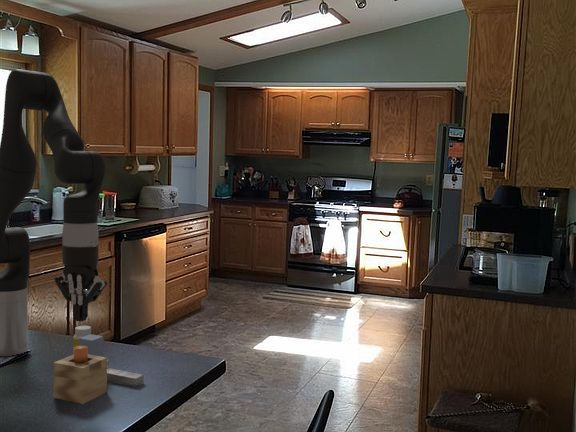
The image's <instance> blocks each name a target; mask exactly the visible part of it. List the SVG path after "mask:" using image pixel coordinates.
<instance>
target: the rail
mask: <svg viewBox="0 0 576 432" xmlns="http://www.w3.org/2000/svg"><path fill="white" fill-rule="evenodd" d="M144 377H145V376H144V374H142V373H138V372H137V373H135V372H131V371H127V370H126V371H125V370H121V369H120V370H119V369H114V368H110V367H109V368H107V383H114V384H118V385H123V386H130V387H135V388H137V387H139V386H140V385H143V384H144V382H145V381H144Z"/></svg>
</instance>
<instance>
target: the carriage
mask: <svg viewBox="0 0 576 432" xmlns="http://www.w3.org/2000/svg"><path fill="white" fill-rule="evenodd" d="M79 346H87V347H88V354H90V355H95V356H101V357H104V336H103V335H98V334H97V335H96V334H91V333H90V334H89V335H86V336H84V337H81V338H79ZM109 362H110V360H109V359H107V368H110V365H109V364H110V363H109Z"/></svg>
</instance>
